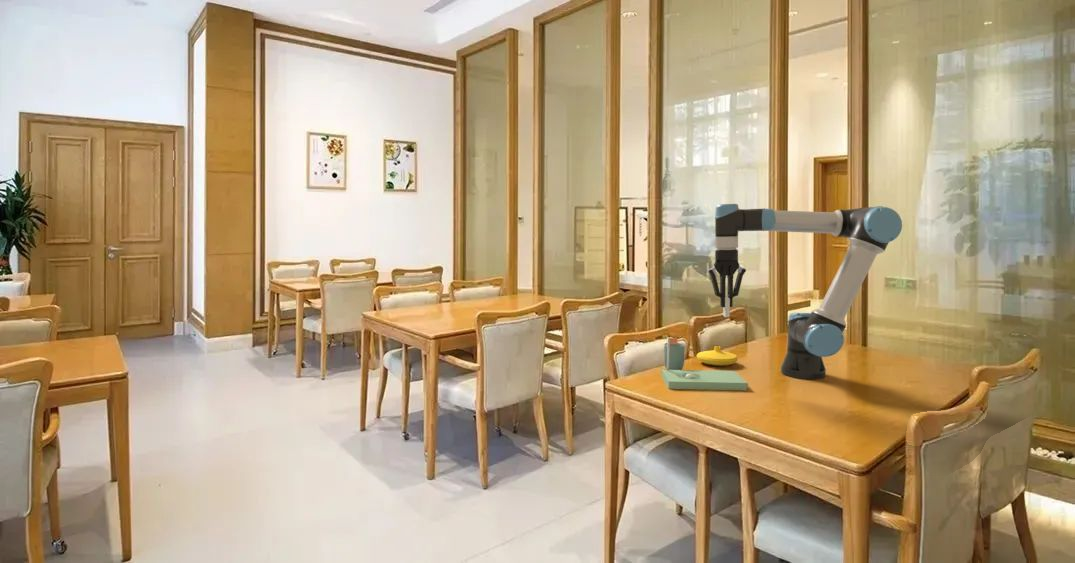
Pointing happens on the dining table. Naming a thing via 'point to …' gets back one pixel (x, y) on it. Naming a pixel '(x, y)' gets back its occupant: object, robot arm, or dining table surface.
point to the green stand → (701, 377)
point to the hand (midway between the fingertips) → (726, 316)
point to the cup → (675, 356)
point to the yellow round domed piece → (717, 357)
